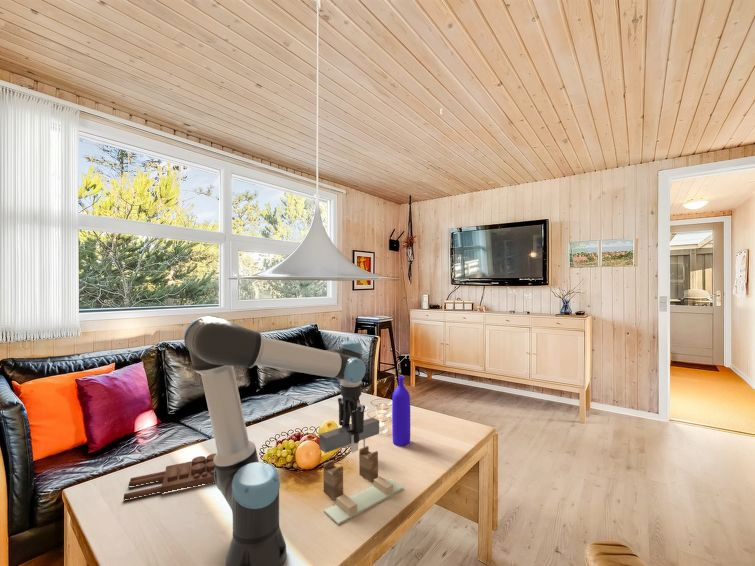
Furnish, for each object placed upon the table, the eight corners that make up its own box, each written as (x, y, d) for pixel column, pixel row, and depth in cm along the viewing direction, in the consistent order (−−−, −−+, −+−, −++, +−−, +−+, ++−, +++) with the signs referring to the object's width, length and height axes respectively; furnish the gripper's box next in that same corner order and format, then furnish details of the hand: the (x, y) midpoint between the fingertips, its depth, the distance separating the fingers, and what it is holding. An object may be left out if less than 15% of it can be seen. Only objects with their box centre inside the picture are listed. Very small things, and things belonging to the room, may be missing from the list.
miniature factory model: (221, 469, 130) (122, 490, 117) (221, 482, 130) (123, 505, 117) (220, 451, 145) (132, 468, 132) (220, 462, 145) (132, 481, 132)
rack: (333, 499, 119) (333, 470, 119) (323, 491, 124) (323, 463, 124) (378, 477, 132) (377, 451, 132) (367, 470, 137) (367, 445, 137)
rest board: (338, 525, 107) (338, 515, 107) (323, 512, 113) (323, 502, 113) (403, 488, 125) (403, 480, 125) (388, 479, 131) (388, 471, 131)
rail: (325, 453, 118) (325, 438, 118) (319, 448, 121) (319, 434, 121) (379, 433, 134) (379, 420, 134) (372, 430, 137) (372, 417, 137)
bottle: (389, 440, 163) (388, 375, 163) (404, 437, 166) (404, 373, 166) (397, 448, 155) (397, 380, 155) (413, 444, 159) (413, 378, 159)
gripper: (374, 387, 124) (373, 454, 124) (345, 377, 137) (345, 438, 137) (357, 391, 119) (356, 461, 119) (329, 381, 132) (328, 443, 132)
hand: (350, 448), depth 128 cm, fingers closed on rail, 4 cm apart
